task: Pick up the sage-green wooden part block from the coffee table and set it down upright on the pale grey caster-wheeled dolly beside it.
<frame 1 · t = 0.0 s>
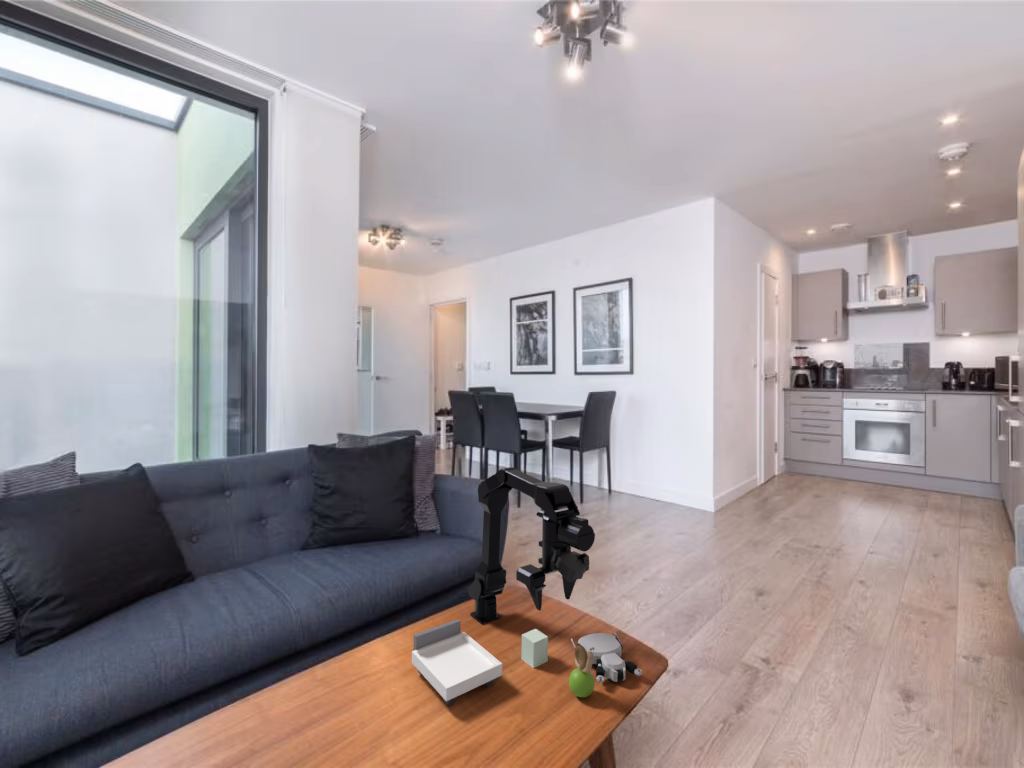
hand: (553, 604, 109), 15 cm above the table, fingers open, 9 cm apart
robot toy: (605, 668, 110), on the table
dolly: (455, 679, 104), on the table
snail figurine: (582, 697, 99), on the table
part block: (534, 660, 112), on the table
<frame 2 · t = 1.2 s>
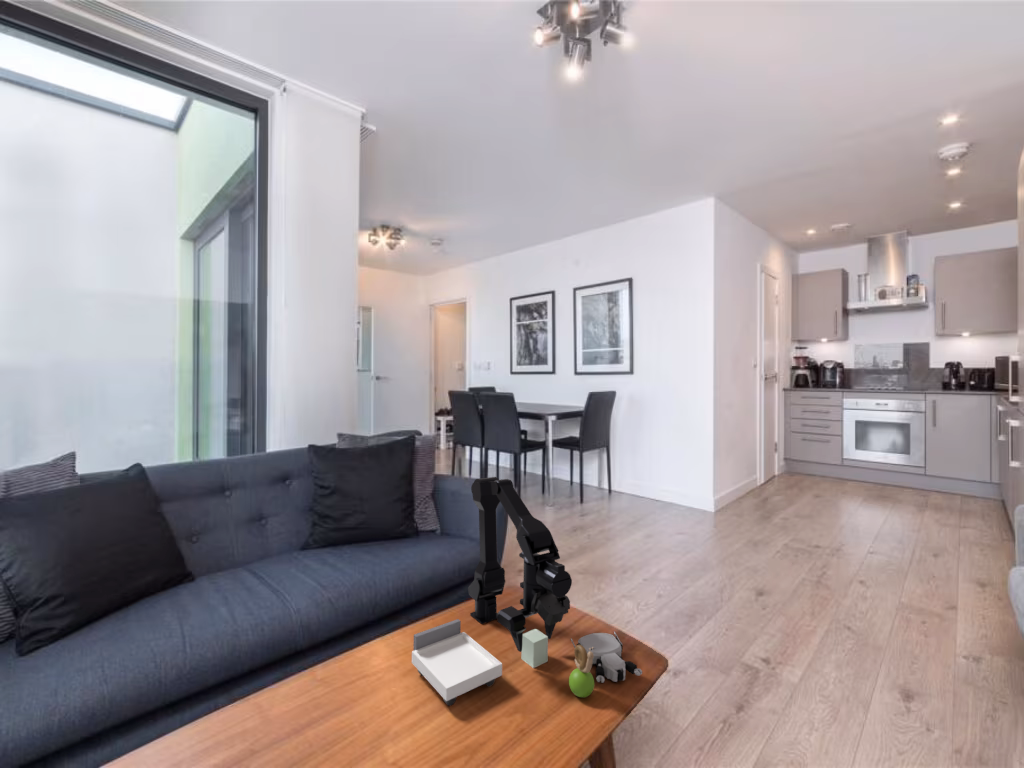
hand: (534, 644, 112), 4 cm above the table, fingers open, 9 cm apart
nothing on the table moved.
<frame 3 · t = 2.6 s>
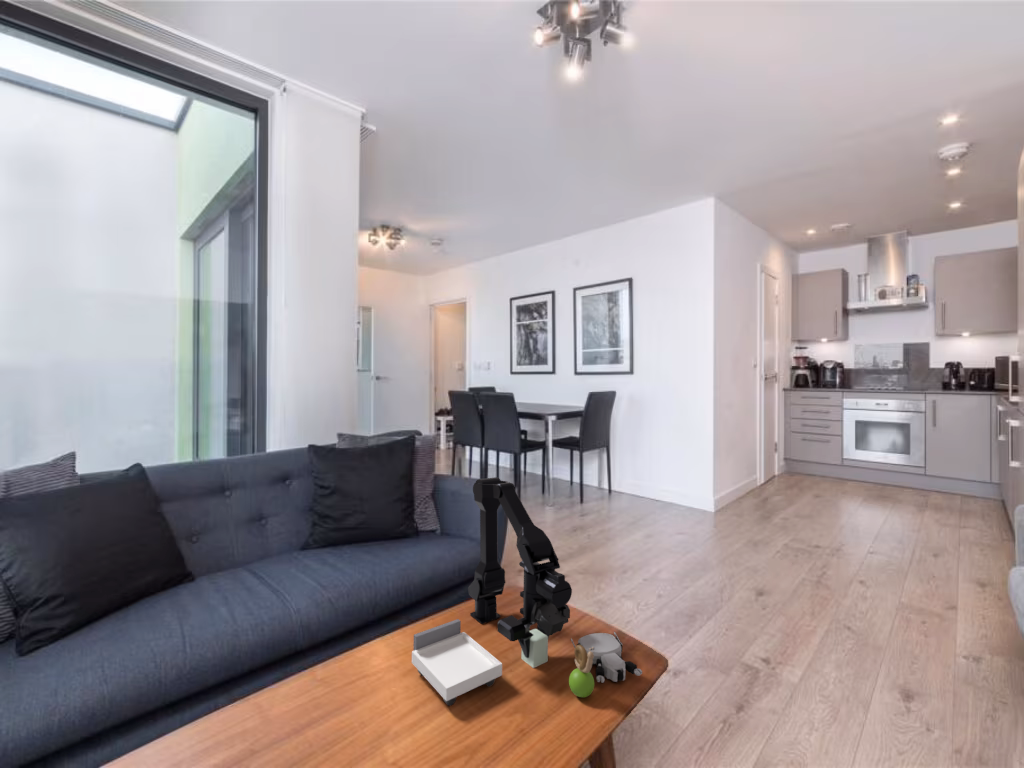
hand: (534, 653, 112), 2 cm above the table, fingers closed on part block, 4 cm apart
part block: (534, 660, 112), on the table, touching gripper
everything else where it was.
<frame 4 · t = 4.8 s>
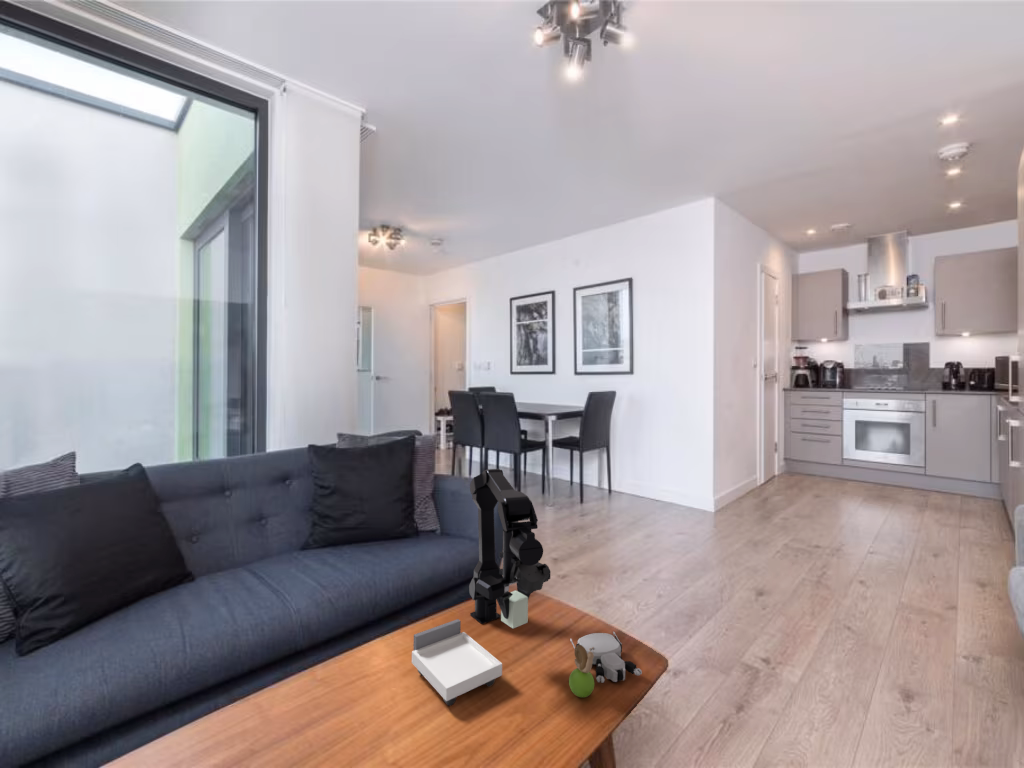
hand: (514, 615, 109), 12 cm above the table, fingers closed on part block, 4 cm apart
part block: (514, 621, 109), point 10 cm above the table, touching gripper
everything else where it was.
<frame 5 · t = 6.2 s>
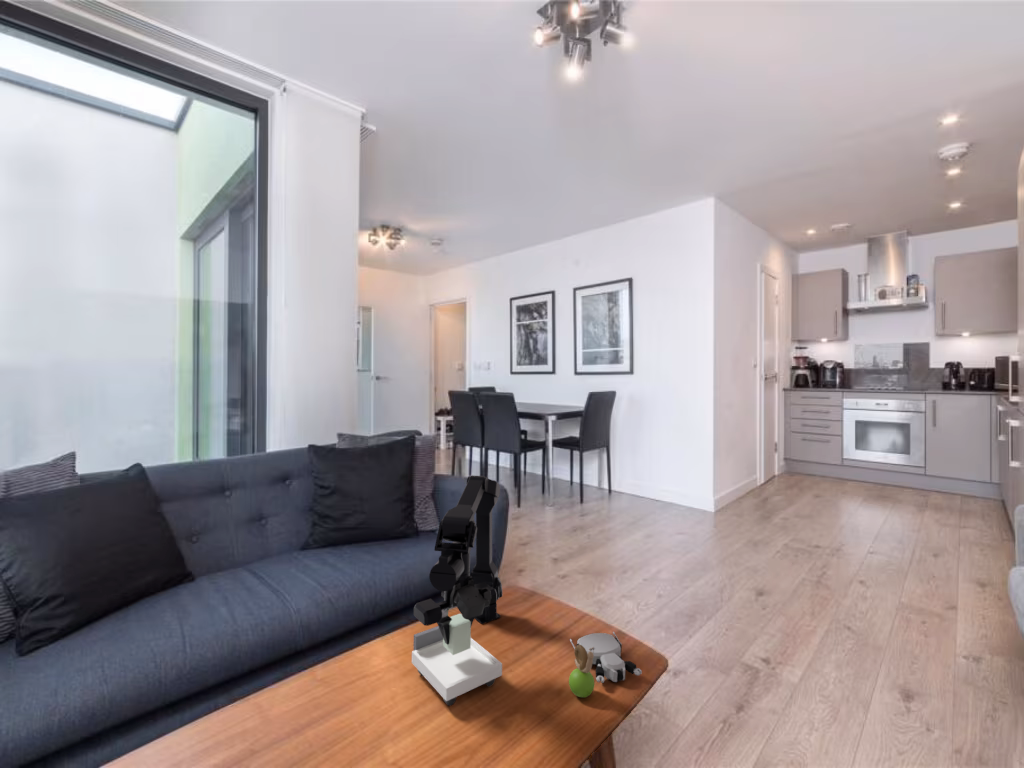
hand: (456, 640, 104), 9 cm above the table, fingers closed on part block, 4 cm apart
part block: (456, 646, 104), point 7 cm above the table, touching gripper
everything else where it was.
when the fingers open (7 cm above the table, at t = 7.3 s): part block drops 1 cm, resting on dolly.
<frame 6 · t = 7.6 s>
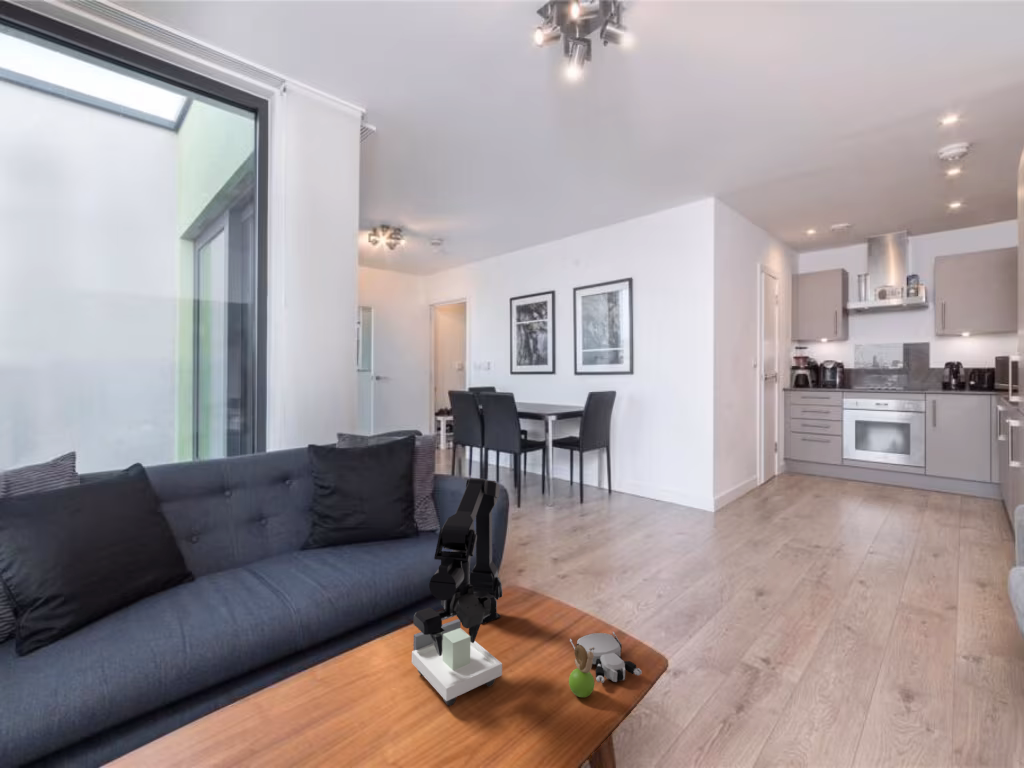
hand: (456, 648, 104), 7 cm above the table, fingers open, 8 cm apart
part block: (456, 661, 104), point 4 cm above the table, touching dolly
everything else where it was.
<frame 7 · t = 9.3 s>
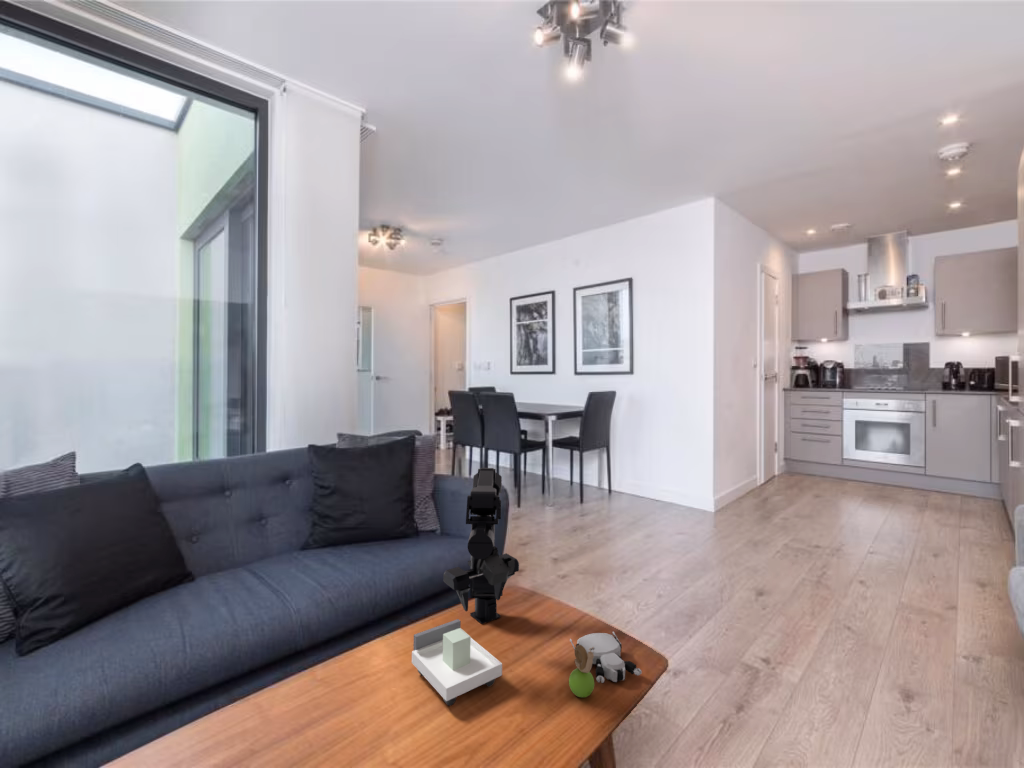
hand: (482, 605, 113), 13 cm above the table, fingers open, 9 cm apart
nothing on the table moved.
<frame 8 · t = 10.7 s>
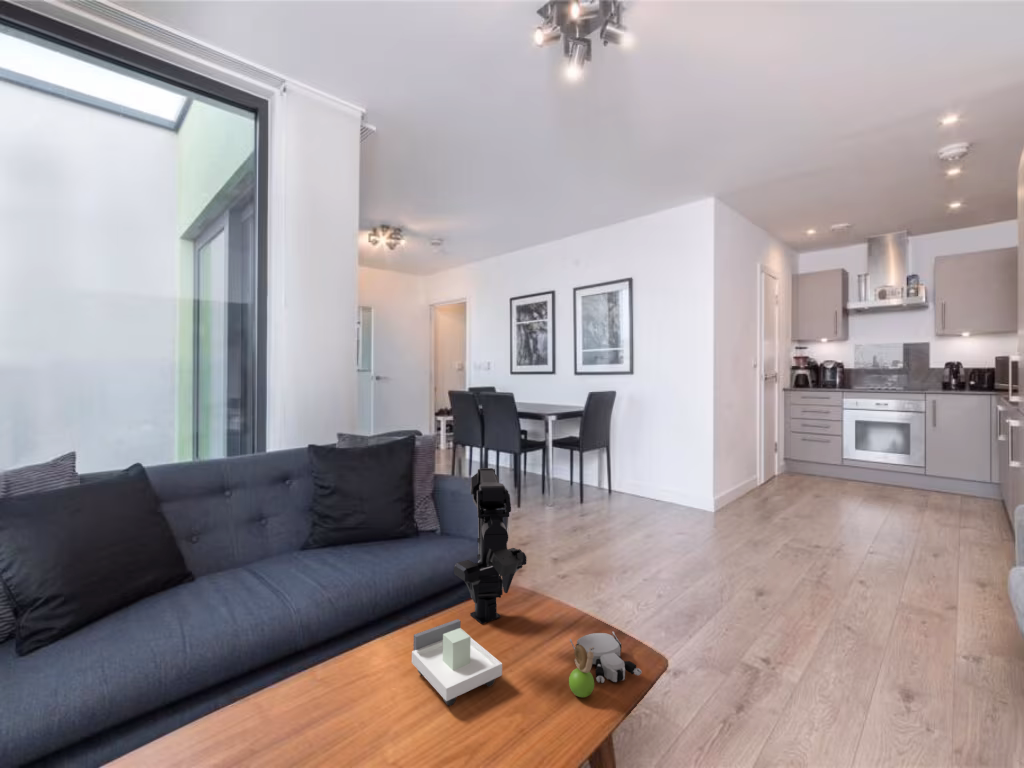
hand: (491, 597, 116), 13 cm above the table, fingers open, 9 cm apart
nothing on the table moved.
at the end: part block inside the target area on the dolly (0.1 cm from its centre), point 4.0 cm above the dolly's base; part block tilted 0°; the gripper is holding nothing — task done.
